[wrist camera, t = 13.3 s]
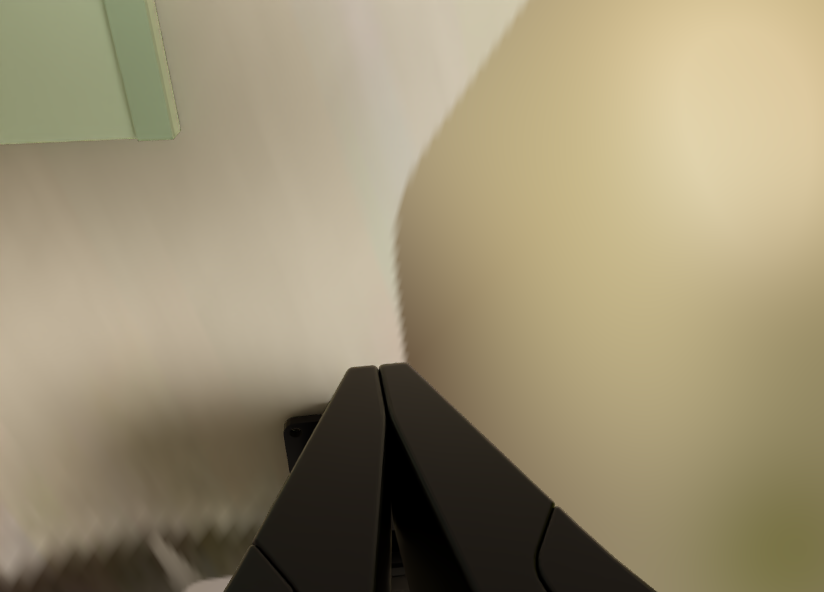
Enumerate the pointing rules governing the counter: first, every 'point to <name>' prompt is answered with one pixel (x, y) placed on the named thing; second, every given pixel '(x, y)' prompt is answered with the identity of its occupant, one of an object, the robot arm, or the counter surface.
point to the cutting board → (83, 72)
